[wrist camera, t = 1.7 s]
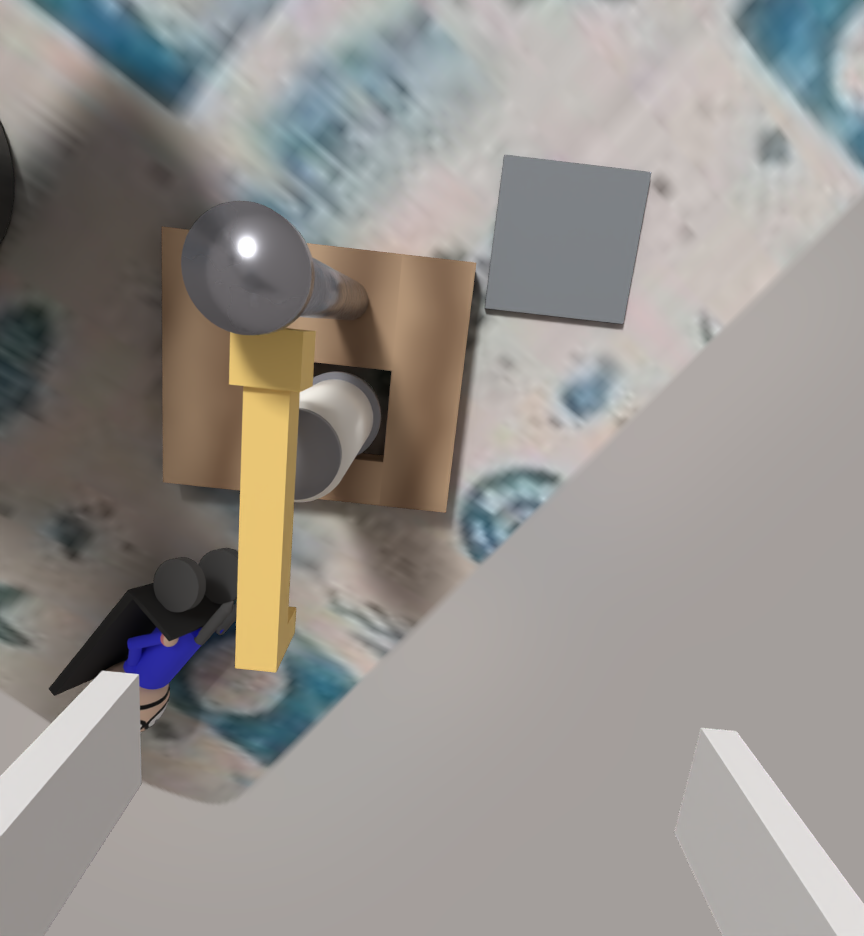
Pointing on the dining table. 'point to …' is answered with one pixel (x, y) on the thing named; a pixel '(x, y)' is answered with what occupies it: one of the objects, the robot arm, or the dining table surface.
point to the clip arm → (267, 487)
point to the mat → (565, 238)
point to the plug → (332, 431)
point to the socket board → (341, 343)
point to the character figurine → (160, 628)
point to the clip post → (261, 273)
